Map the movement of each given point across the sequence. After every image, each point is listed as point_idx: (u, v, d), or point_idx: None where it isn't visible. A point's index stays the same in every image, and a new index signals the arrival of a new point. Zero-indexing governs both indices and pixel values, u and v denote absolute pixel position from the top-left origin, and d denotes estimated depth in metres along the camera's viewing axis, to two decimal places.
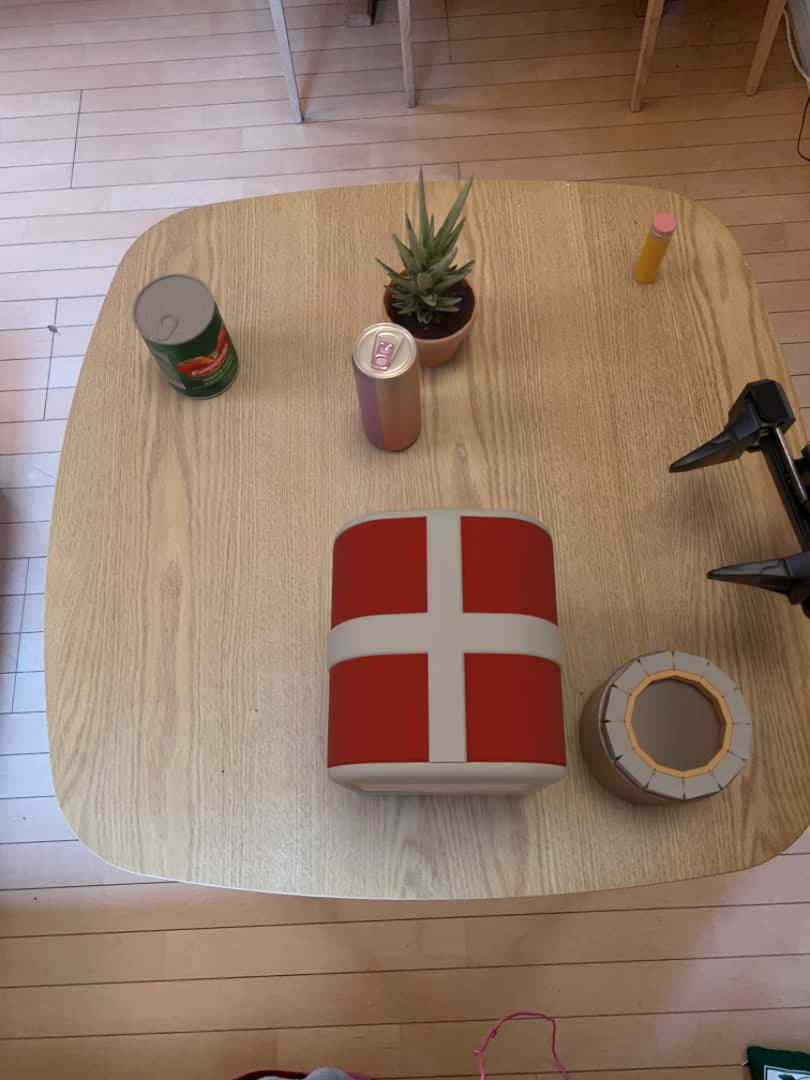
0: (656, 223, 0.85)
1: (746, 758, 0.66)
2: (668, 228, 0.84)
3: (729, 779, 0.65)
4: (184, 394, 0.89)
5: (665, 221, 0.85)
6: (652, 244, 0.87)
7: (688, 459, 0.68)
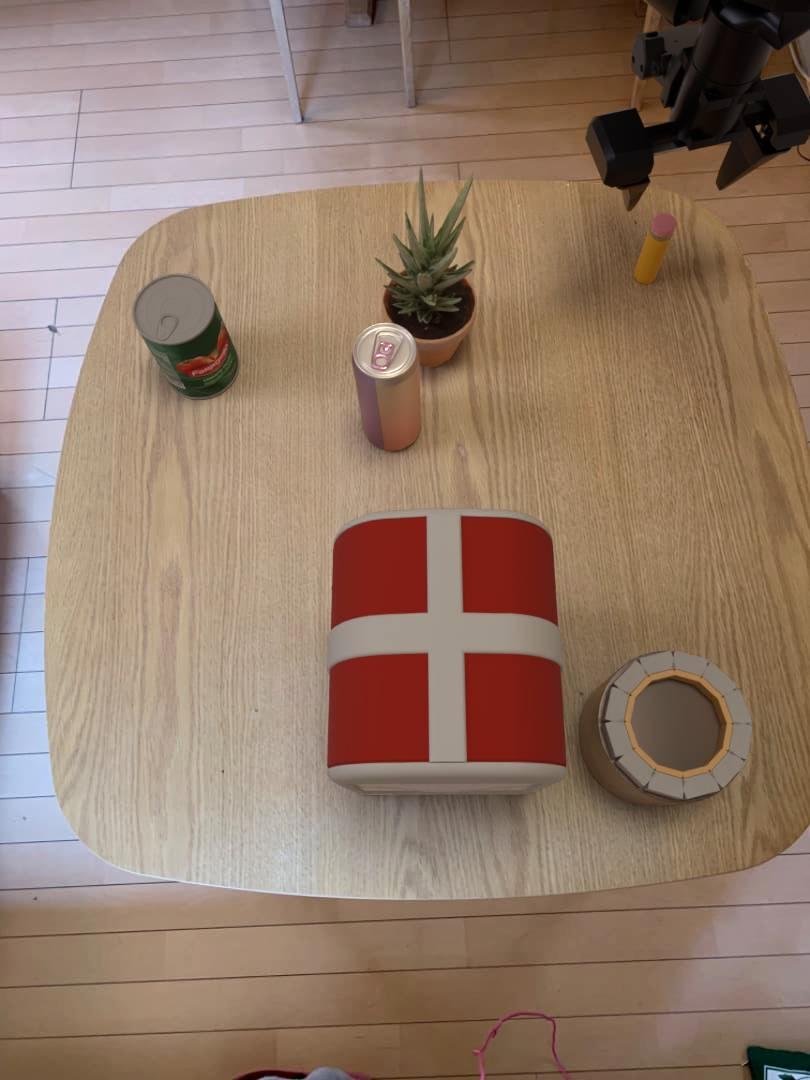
0: (656, 223, 0.85)
1: (746, 758, 0.66)
2: (668, 228, 0.84)
3: (729, 779, 0.65)
4: (184, 394, 0.89)
5: (665, 221, 0.85)
6: (652, 244, 0.87)
7: None
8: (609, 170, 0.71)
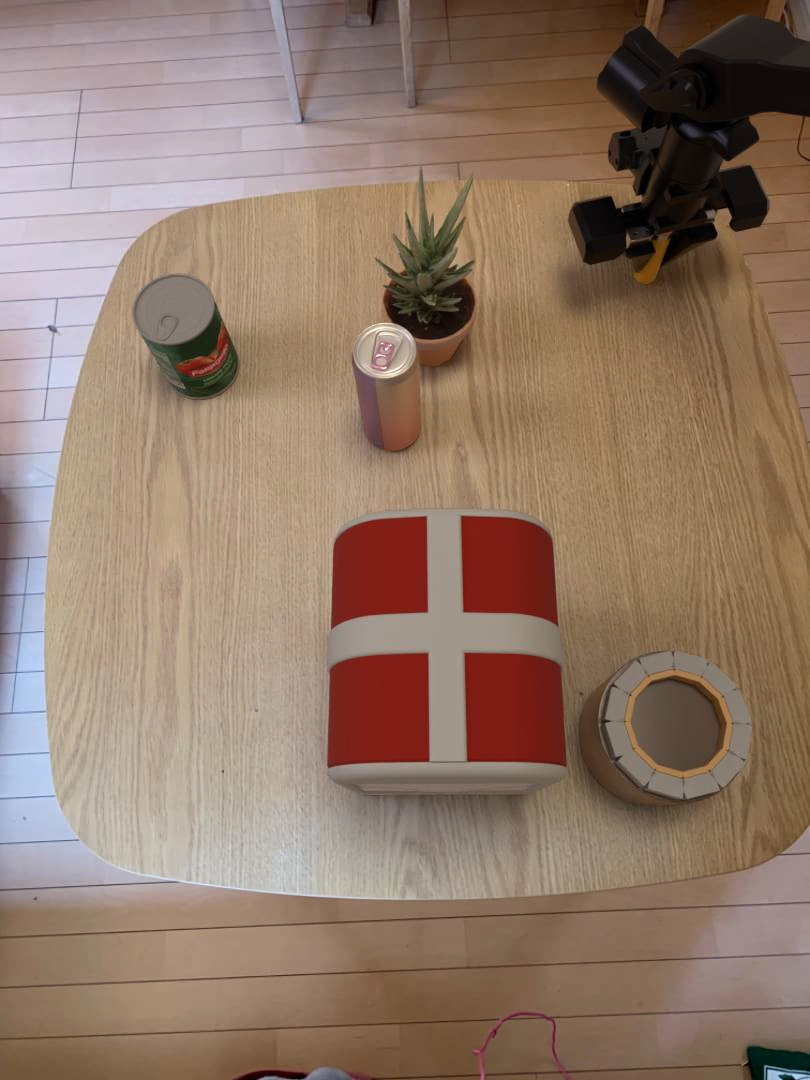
0: None
1: (746, 758, 0.66)
2: None
3: (729, 779, 0.65)
4: (184, 394, 0.89)
5: None
6: None
7: None
8: (587, 251, 0.82)
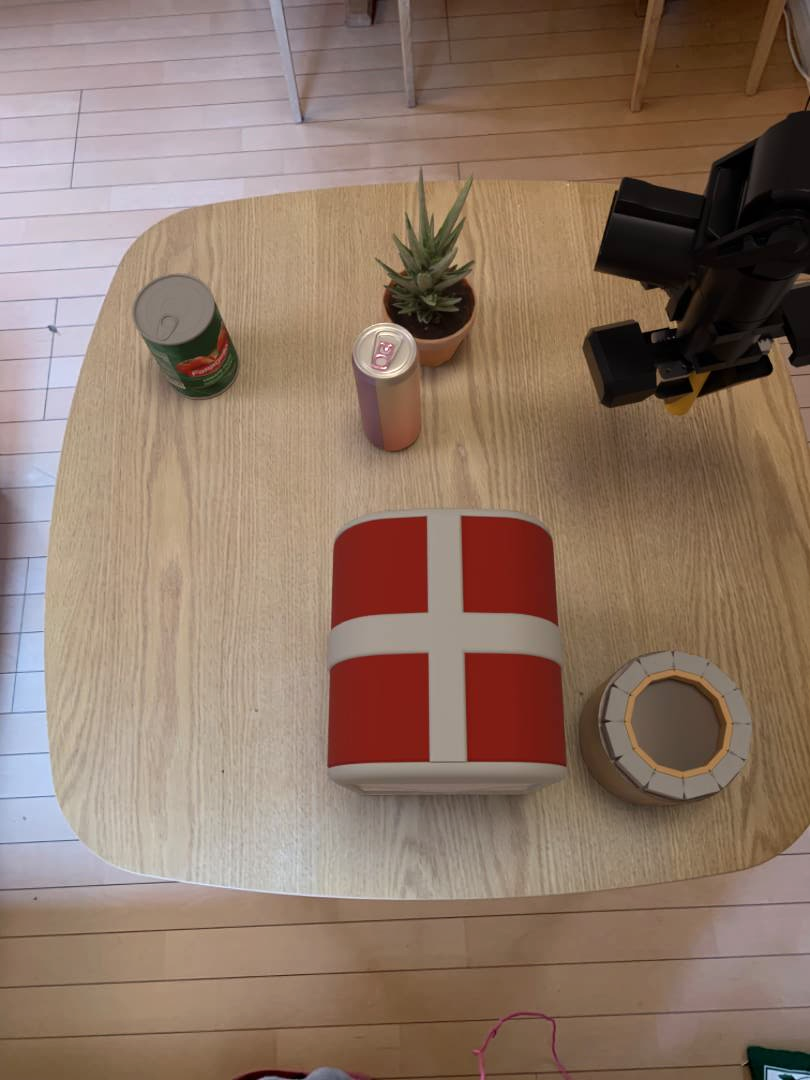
0: None
1: (746, 758, 0.66)
2: None
3: (729, 779, 0.65)
4: (184, 394, 0.89)
5: None
6: None
7: None
8: (606, 393, 0.64)
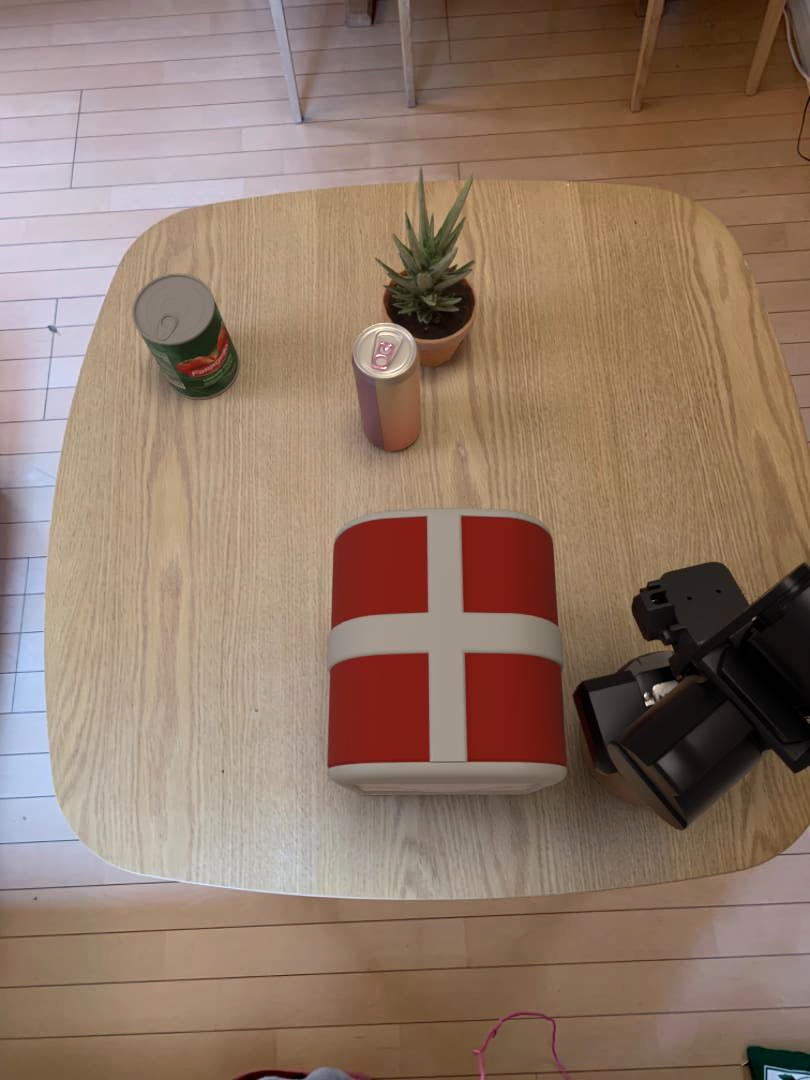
0: None
1: None
2: None
3: None
4: (184, 394, 0.89)
5: None
6: None
7: None
8: (601, 768, 0.55)
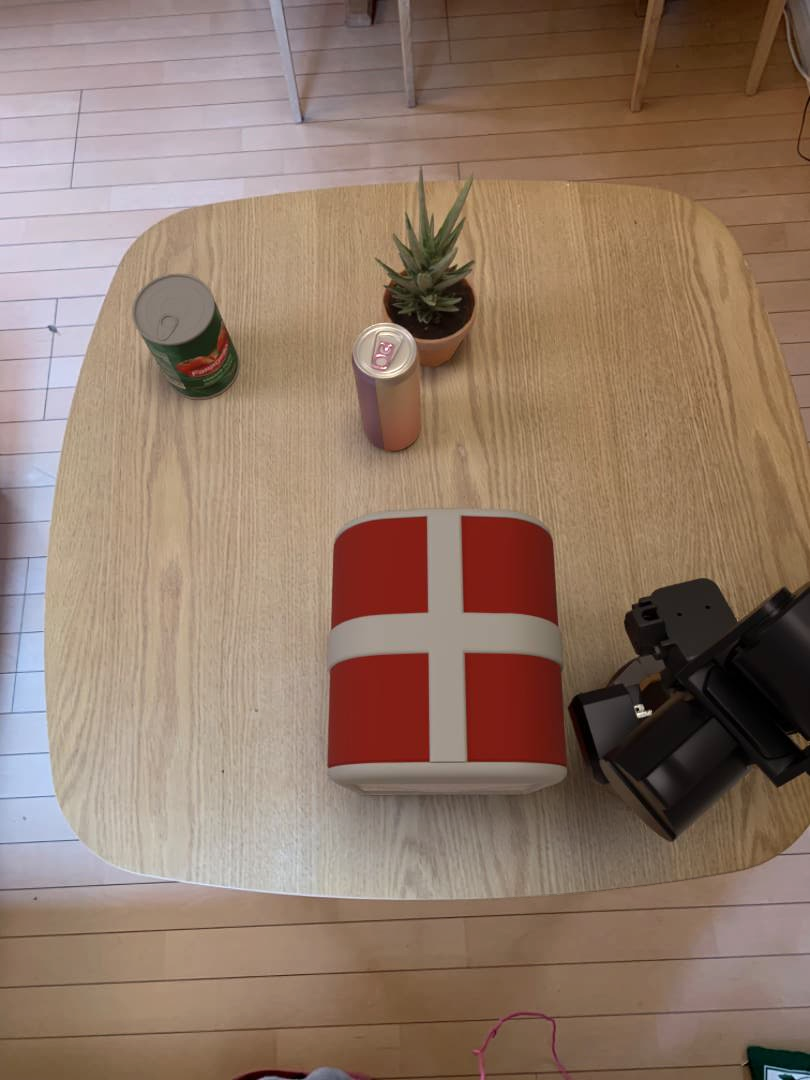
0: None
1: None
2: None
3: None
4: (184, 394, 0.89)
5: None
6: None
7: None
8: (595, 778, 0.57)
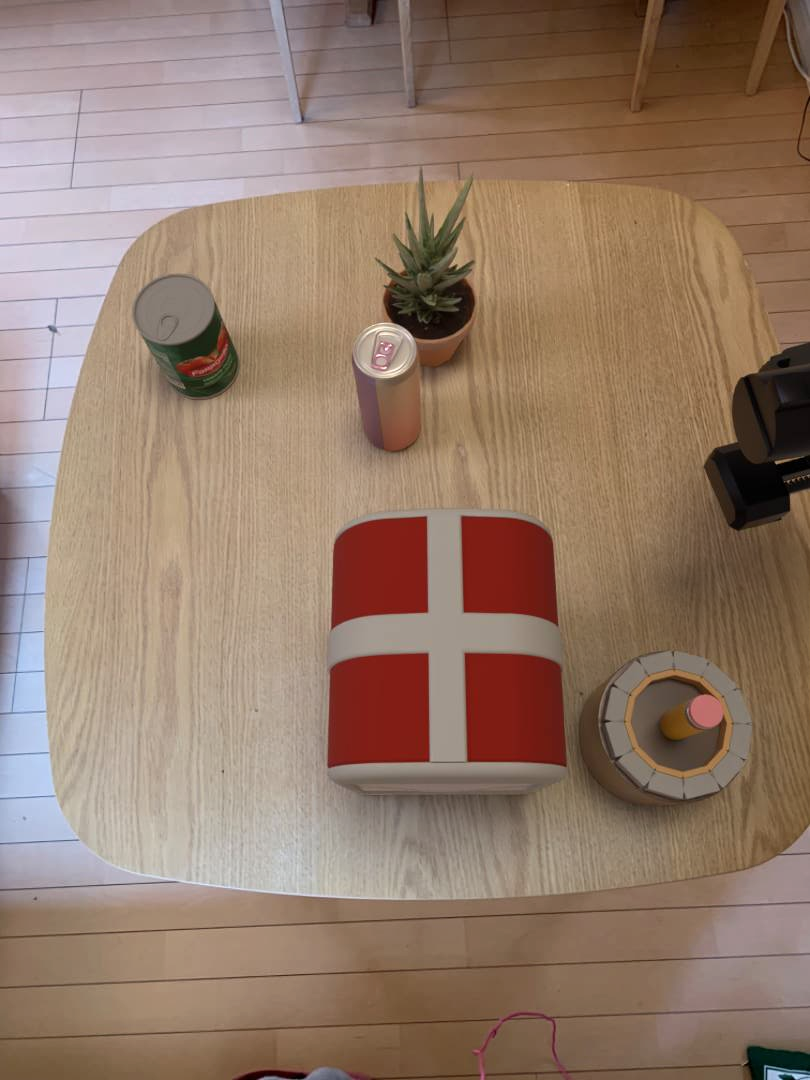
0: (695, 713, 0.60)
1: (746, 758, 0.66)
2: (712, 721, 0.60)
3: (729, 779, 0.65)
4: (184, 394, 0.89)
5: (707, 709, 0.60)
6: (688, 727, 0.62)
7: None
8: (738, 519, 0.61)
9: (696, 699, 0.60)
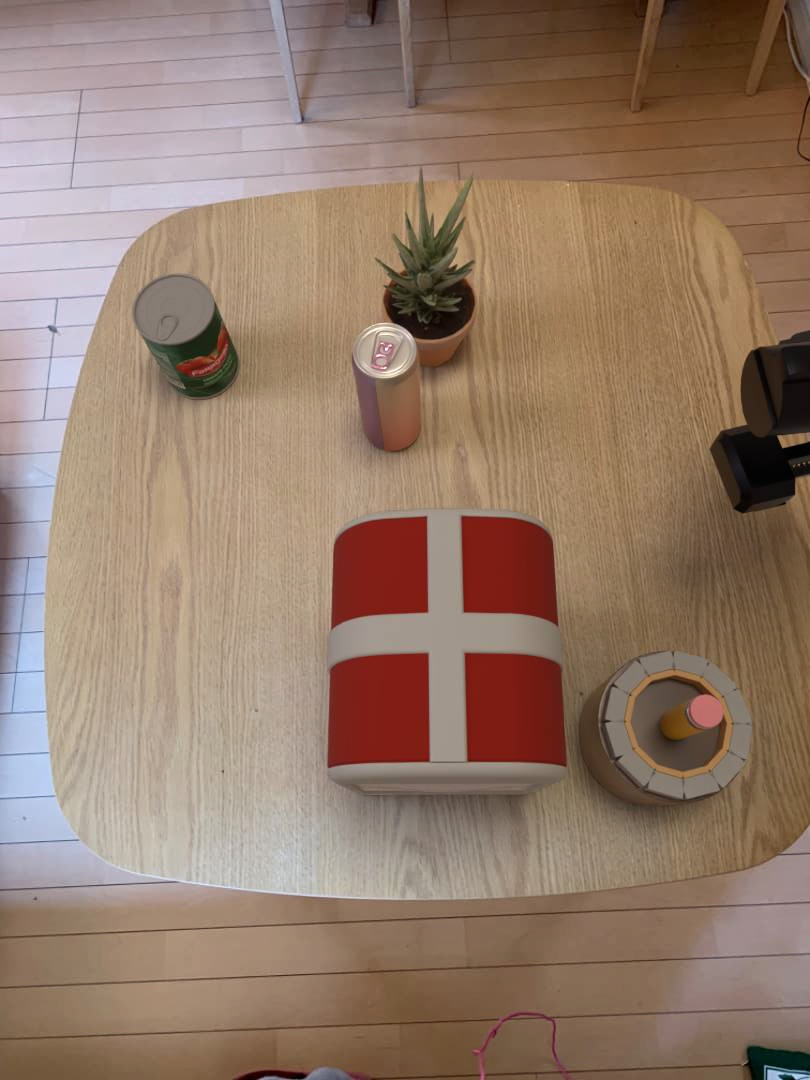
0: (695, 713, 0.60)
1: (746, 758, 0.66)
2: (712, 721, 0.60)
3: (729, 779, 0.65)
4: (184, 394, 0.89)
5: (707, 709, 0.60)
6: (688, 727, 0.62)
7: None
8: (743, 501, 0.62)
9: (696, 699, 0.60)
